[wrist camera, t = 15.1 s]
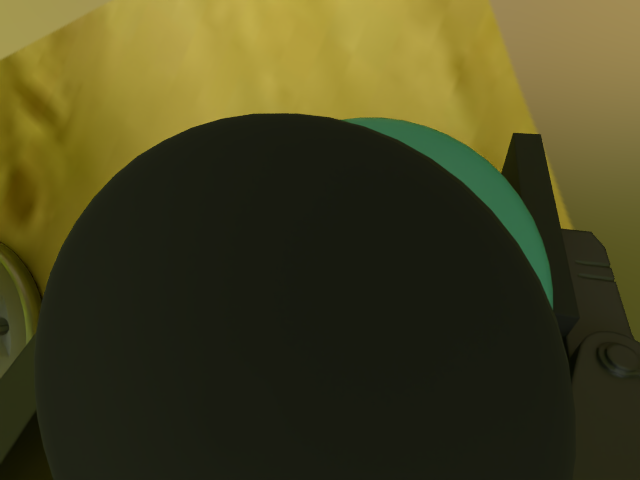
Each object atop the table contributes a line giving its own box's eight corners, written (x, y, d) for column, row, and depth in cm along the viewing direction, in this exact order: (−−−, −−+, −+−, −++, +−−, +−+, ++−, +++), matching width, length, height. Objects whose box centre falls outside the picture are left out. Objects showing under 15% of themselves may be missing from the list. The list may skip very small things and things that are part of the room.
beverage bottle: (408, 171, 21) (289, -415, 2) (488, 263, 20) (1689, 746, 1) (321, 244, 23) (-234, 290, 3) (393, 334, 22) (172, 1117, 2)
